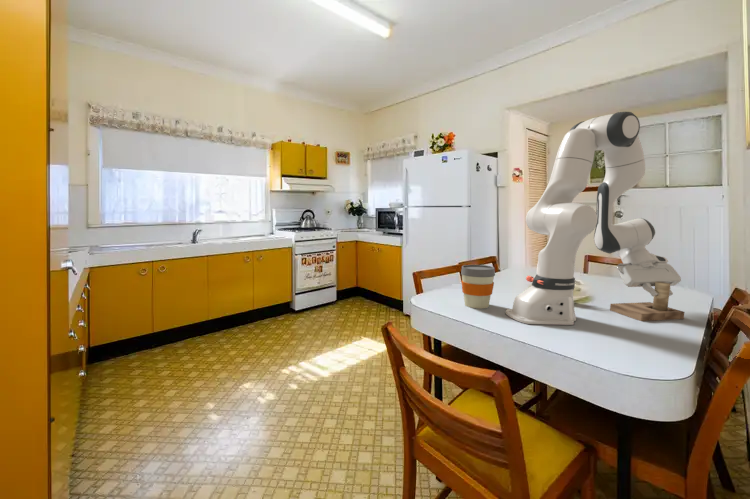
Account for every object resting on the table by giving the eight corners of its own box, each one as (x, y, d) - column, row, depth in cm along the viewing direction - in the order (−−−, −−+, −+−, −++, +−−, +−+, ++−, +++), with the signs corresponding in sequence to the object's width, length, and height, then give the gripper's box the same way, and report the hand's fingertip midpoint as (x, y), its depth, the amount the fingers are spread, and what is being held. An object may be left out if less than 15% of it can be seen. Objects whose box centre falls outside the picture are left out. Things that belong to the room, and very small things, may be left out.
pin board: (640, 321, 112) (641, 313, 112) (610, 310, 124) (610, 303, 124) (683, 319, 114) (684, 311, 114) (649, 308, 126) (649, 302, 126)
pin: (660, 313, 115) (664, 284, 114) (649, 309, 119) (652, 282, 118) (670, 312, 116) (673, 284, 115) (658, 309, 120) (661, 281, 119)
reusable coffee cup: (458, 300, 138) (459, 264, 136) (490, 301, 136) (492, 265, 134) (461, 308, 126) (462, 269, 124) (496, 310, 124) (498, 270, 122)
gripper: (620, 258, 121) (643, 291, 113) (670, 257, 124) (695, 289, 115) (609, 268, 126) (630, 301, 118) (657, 267, 129) (680, 299, 120)
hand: (663, 295), depth 117 cm, fingers closed on pin, 4 cm apart
